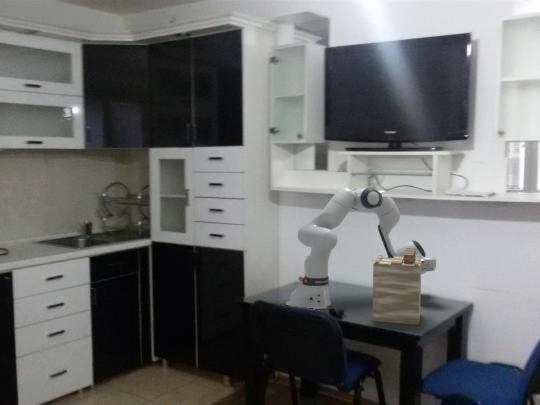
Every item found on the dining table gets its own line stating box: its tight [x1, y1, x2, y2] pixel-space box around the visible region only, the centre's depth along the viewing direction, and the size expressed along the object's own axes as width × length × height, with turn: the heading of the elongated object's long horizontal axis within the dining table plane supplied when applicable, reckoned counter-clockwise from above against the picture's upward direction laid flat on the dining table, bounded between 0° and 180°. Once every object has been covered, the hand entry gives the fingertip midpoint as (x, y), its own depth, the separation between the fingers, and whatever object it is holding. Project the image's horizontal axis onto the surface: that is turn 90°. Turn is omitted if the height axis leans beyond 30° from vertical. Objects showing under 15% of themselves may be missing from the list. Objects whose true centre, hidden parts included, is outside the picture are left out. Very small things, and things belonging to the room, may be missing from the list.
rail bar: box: [404, 248, 416, 264], centre depth 258 cm, size 20×4×4 cm, turn 163°
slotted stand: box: [371, 254, 422, 326], centre depth 255 cm, size 16×20×27 cm
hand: (413, 261), depth 272 cm, fingers open, 8 cm apart
